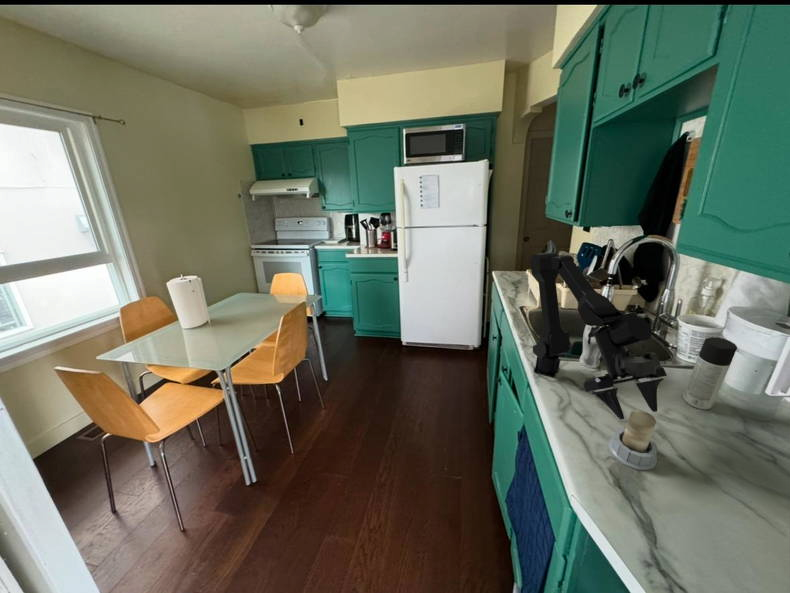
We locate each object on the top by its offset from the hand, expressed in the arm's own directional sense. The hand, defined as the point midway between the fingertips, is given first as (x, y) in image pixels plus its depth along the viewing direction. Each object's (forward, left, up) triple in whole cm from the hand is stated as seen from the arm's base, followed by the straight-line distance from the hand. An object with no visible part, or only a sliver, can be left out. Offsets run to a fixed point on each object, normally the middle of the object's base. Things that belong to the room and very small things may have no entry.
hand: (638, 415), depth 83 cm
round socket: (+1, -1, -11) cm, 11 cm away
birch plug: (+1, -1, -10) cm, 10 cm away
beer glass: (-11, +35, -11) cm, 39 cm away
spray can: (+17, +28, -11) cm, 35 cm away
